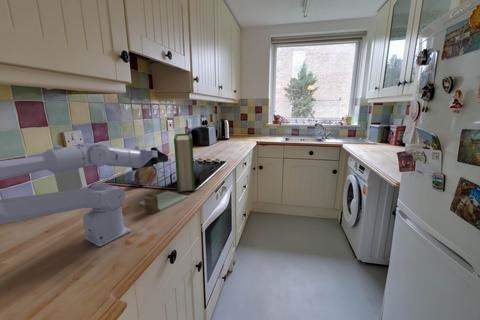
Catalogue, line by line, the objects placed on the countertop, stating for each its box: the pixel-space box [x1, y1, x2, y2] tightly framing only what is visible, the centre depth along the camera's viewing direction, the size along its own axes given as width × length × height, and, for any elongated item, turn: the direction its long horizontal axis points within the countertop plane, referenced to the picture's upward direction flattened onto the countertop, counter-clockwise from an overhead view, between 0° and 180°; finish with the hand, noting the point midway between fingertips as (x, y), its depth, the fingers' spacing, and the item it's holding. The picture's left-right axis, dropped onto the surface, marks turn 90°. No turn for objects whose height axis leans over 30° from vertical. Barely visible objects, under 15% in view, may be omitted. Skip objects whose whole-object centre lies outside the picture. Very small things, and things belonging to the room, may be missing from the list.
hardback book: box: [173, 133, 196, 194], centre depth 106 cm, size 18×7×24 cm, turn 13°
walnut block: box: [143, 193, 160, 215], centre depth 82 cm, size 2×4×6 cm, turn 58°
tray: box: [139, 190, 189, 212], centre depth 92 cm, size 14×12×1 cm
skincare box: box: [53, 167, 88, 192], centre depth 90 cm, size 8×6×15 cm
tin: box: [133, 164, 157, 187], centre depth 114 cm, size 15×3×8 cm, turn 168°
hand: (159, 160), depth 81 cm, fingers open, 7 cm apart
